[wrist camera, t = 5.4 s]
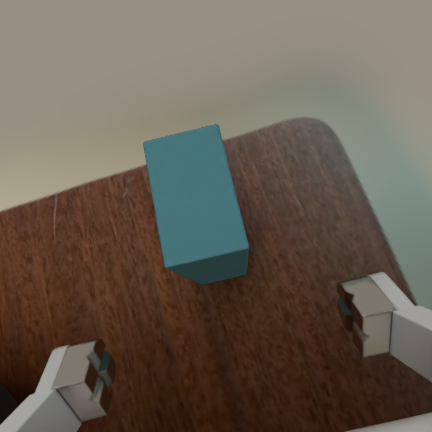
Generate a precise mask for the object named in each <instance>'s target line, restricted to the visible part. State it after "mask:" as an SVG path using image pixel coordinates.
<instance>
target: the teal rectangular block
mask: <svg viewBox="0 0 432 432" xmlns="http://www.w3.org/2000/svg"><path fill="white" fill-rule="evenodd" d="M143 146H144V151H145V157H146V163H147V168H148V174H149V180H150V185H151V191H152V197H153V203H154V208H155V214H156V220H157V225H158V231H159V237H160V243H161V248H162V254H163V260H164V265H165V268H167V269H169V270H171V271H174V272H176V273H178V274H180V275H182V276H184V277H186V278H189V279H191V280H193V281H195V282H197V283H199V284H201V285H205V284H209V283H213V282H218V281H222V280H226V279H231V278H235V277H239V276H243V275H247V269H248V256H249V244H248V240H247V236H246V232H245V228H244V224H243V220H242V216H241V212H240V208H239V204H238V200H237V196H236V192H235V188H234V184H233V181H232V177H231V173H230V169H229V165H228V161H227V157H226V153H225V149H224V145H223V141H222V137H221V133H220V129H219V126H218V125H217V124H215V125H211V126H206V127H202V128H198V129H194V130H190V131H186V132H182V133H178V134H174V135H170V136H165V137H161V138H157V139H153V140H149V141H145V142H144V143H143Z"/></svg>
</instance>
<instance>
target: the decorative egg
mask: <svg viewBox="0 0 432 432" xmlns="http://www.w3.org/2000/svg"><path fill="white" fill-rule="evenodd" d="M17 407H18V404H17V403H16V401H15V399H14V398H13V396H12V395H11V394H10V393H9V392H8V391H7V390H6V389H5V387H4V386H3V385H1V384H0V425H1V424H2V423H3V422H4V421H5V420H6V419H7V418H8V417H9V415H10V414H11V413H12V412H13V411H14V410H15V409H16V408H17Z"/></svg>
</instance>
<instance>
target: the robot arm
mask: <svg viewBox="0 0 432 432" xmlns="http://www.w3.org/2000/svg"><path fill="white" fill-rule="evenodd" d="M337 293H338V294H339V296H340V298H339V300H338V301H337V303H338V311H339V314H340V318H341V320H342V322H343V324H344V326H345V328H346V329H347V330H348V331H350V332H352V336H353V342H354V344H355V345H356V347H357V349H358V350H359V352H360V354H361V356H362V357H363V358H364V357H369V356H374V355H379V354H384V353H389V352H390V354H391V355H392V356H394V357H395V358H397V359H398V360H400V361H401V362H403V363H404V364H405V365H407V366H408V367H410V368H411V369H413V370H414V371H416V372H417V373H419V374H420V375H422V376H423V377H424V378H426V379H427V380H429V381H430V382H432V310H430V309H427V308H425V307H423V306H420V305H418V306H414V304H413V303H412V302H411V301H410V300H409V299H408V298H407V297H406V295H405V294H404V293H403V292H402V291H401V290H400V289H399V288H398V287H397V285H396V284H395V283H394V282H393V281H392V280H391V279H390V278H389V277H388V275H387V274H386V273H384V272H380V273H376V274H371V275H368V276H363V277H359V278H355V279H351V280H347V281H343V282H339V283H338V284H337ZM104 349H105V344H104V342H103V341H102V339H94V340H89V341H84V342H79V343H75V344H70V345H66V346H61V347H56V348H55V349H54V350H53V351H52V353H51V355H50V358H49V360H48V362H47V365H46V367H45V369H44V372H43V374H42V376H41V379H40V381H39V384H38V386H37V388H36V391H35V393H34V394H31V395H29V396H28V397H27V398H26V399H25V400H24V401H23V402H22V403H21V404H20V405H19V406H18V407H17V408H16V409H15V410H14V411H13V412H12V413H11V414H10V415H9V417H8V418H7V419H6V420H5V421H4V422H3V423H2V424H1V425H0V432H77V431H78V429H79V428H80V426H81V424H82V423H81V422H85V421H88V420H92V419H96V418H100V417H104V416H107V414H108V409H109V404H110V399H111V394H110V392H109V391H108V389H109V388H110V387H111V386H112V384H113V383H114V379H115V363H114V360H113V358H112V356H111V354H110V353H108V352H106V351H104ZM346 432H432V412H431V413H427V414H422V415H418V416H413V417H409V418H404V419H400V420H395V421H391V422H386V423H382V424H377V425H373V426H368V427H364V428H359V429H355V430H350V431H346Z"/></svg>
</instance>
